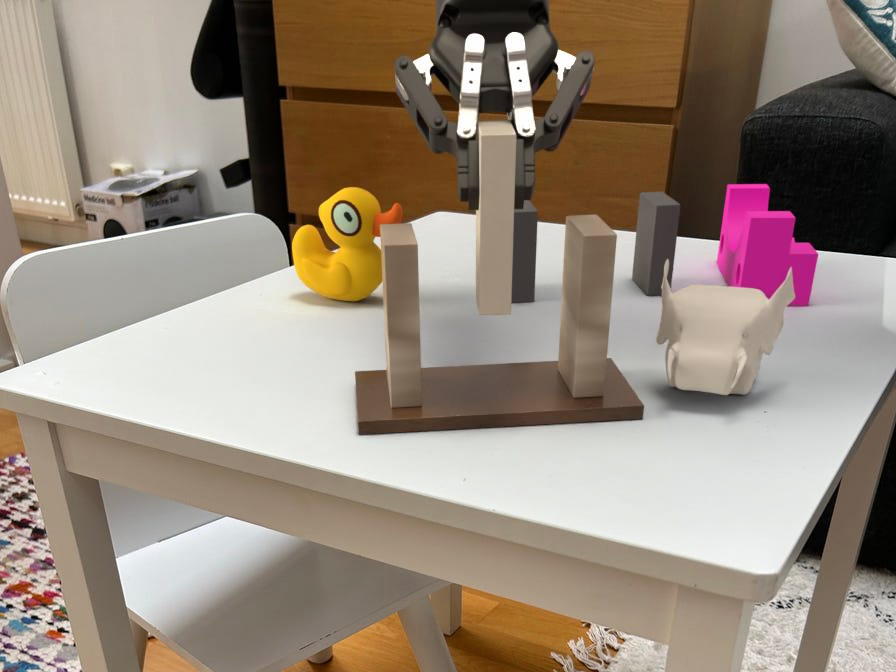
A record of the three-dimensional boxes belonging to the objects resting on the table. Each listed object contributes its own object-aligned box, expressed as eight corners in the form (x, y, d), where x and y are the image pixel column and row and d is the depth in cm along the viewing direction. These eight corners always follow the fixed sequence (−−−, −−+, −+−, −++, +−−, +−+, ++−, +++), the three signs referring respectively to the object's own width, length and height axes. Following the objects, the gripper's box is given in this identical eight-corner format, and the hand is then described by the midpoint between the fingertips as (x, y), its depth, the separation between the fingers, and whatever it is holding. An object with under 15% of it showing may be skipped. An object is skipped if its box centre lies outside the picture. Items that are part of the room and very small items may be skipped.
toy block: (808, 305, 90) (825, 217, 86) (737, 305, 91) (751, 217, 86) (778, 262, 102) (792, 183, 98) (716, 262, 103) (727, 184, 99)
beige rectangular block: (505, 289, 72) (510, 119, 65) (511, 315, 67) (516, 133, 60) (475, 290, 72) (476, 120, 65) (478, 315, 67) (480, 134, 61)
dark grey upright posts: (653, 277, 99) (662, 191, 94) (670, 294, 94) (680, 204, 89) (502, 285, 98) (504, 198, 94) (511, 302, 93) (513, 212, 89)
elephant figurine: (627, 411, 71) (640, 283, 66) (658, 357, 80) (672, 241, 75) (766, 427, 68) (790, 295, 63) (782, 369, 77) (805, 249, 72)
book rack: (610, 370, 78) (623, 206, 71) (643, 419, 70) (662, 239, 63) (355, 383, 77) (344, 219, 70) (358, 434, 69) (346, 254, 62)
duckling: (416, 296, 96) (413, 184, 90) (393, 312, 92) (388, 196, 86) (312, 287, 100) (302, 179, 94) (286, 302, 96) (274, 190, 90)
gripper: (384, -78, 63) (385, 167, 60) (603, -85, 63) (615, 162, 60) (390, 16, 70) (391, 238, 67) (586, 10, 70) (596, 234, 67)
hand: (496, 201), depth 64 cm, fingers closed on beige rectangular block, 2 cm apart
